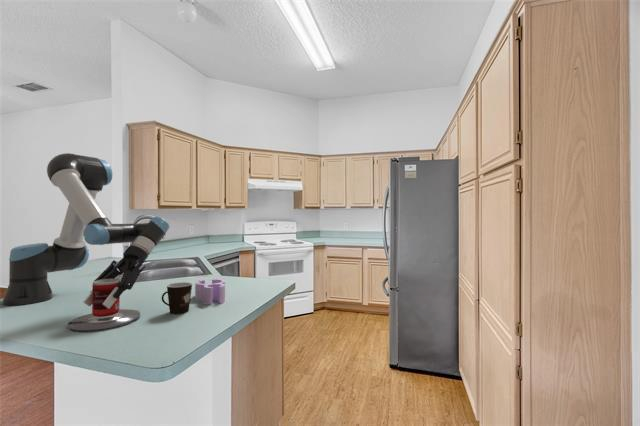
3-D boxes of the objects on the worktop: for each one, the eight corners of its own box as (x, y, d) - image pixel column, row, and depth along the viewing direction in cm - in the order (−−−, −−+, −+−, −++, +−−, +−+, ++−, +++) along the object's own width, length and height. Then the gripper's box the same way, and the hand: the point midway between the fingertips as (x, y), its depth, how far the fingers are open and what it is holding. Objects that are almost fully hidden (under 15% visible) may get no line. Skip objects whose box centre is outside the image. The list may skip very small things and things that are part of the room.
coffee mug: (186, 307, 121) (186, 281, 121) (195, 311, 115) (196, 284, 115) (154, 313, 113) (154, 285, 113) (162, 318, 107) (162, 289, 107)
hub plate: (51, 327, 98) (51, 323, 98) (111, 309, 117) (111, 306, 117) (98, 335, 92) (98, 331, 92) (153, 315, 111) (153, 311, 111)
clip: (231, 302, 129) (231, 285, 129) (199, 306, 123) (200, 289, 123) (221, 292, 146) (221, 277, 146) (192, 295, 140) (193, 280, 140)
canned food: (114, 308, 110) (115, 277, 110) (123, 313, 105) (123, 280, 105) (88, 313, 104) (89, 280, 104) (96, 318, 99) (96, 284, 99)
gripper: (166, 258, 116) (127, 314, 101) (124, 256, 122) (81, 308, 107) (155, 245, 111) (112, 302, 96) (112, 243, 117) (65, 296, 102)
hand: (96, 305), depth 101 cm, fingers closed on canned food, 8 cm apart
